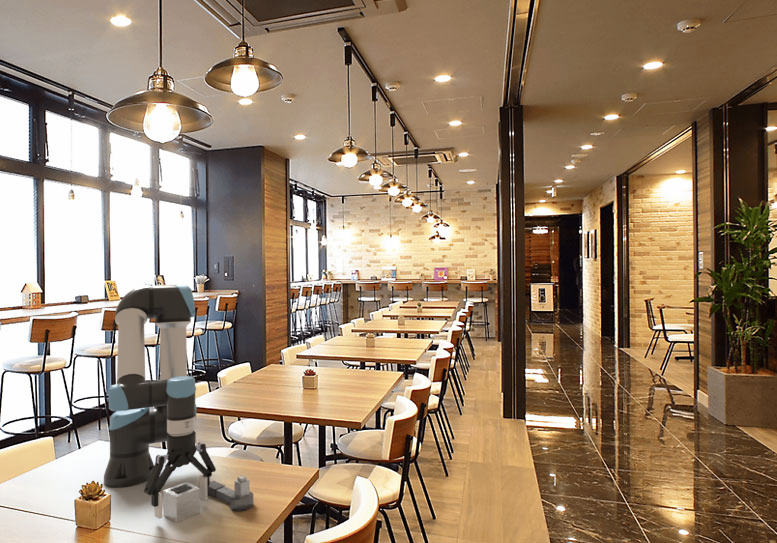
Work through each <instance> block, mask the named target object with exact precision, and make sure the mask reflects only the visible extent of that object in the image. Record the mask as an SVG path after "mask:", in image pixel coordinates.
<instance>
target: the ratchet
mask: <svg viewBox="0 0 777 543" xmlns="http://www.w3.org/2000/svg"><path fill="white" fill-rule="evenodd" d="M207 496H210V497H212V498H214V499H218V500H220V501H221V502H224V503H225V504H229V505H230V510H231V511H234V512H246V511H248V510H251V509H252V508H253V507H254V492H252V491H250V479H248V478H247V476H246V475H239V476H238V477H237V479H236V480H234V490H233V489H232V488H229V487H227V486H226V485H225V484H222V483H221V482H218V481H216V480H212V481H210V485H209V486H208V487H207Z"/></svg>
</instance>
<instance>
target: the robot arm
mask: <svg viewBox="0 0 777 543" xmlns="http://www.w3.org/2000/svg"><path fill="white" fill-rule="evenodd" d="M195 306H196V305H195V299H194V295H193V291H192V288H191V287H190V286H189V285H184V284H183V285H182V284H169V285H164V284H163V285H162V284H161V285H141V286H137V287H135V288H133V289H132V290H130V291H128V292H127V293H126V294H125V295H124V296H123V297H122V298H121V300H120V301H119V302H118V304H117V306H116V308H115V314H114V321H115V324H116V325H117V326H118V327H117V330H118V331H117V364H116V365H117V366H116V371H117V372H116V383H115V384H111V385H110V386H109V387H108V409H109V410H110V411H112V412H113V413H112V414H111V416H110V418H109V427H108V430H109V458H108V459H109V460H108V462H107V466H106V468H105V471H104V475H103V484H104V485H105V486H108V487H112V488H122V487H129V486H130V487H131V486H135V485H138V484H142V483H144V482H146V481H147V482H146V484H145V487H144V490H143V493H145V494H146V495H148V496H150V497H151V502H150V503H151V504H150V505H151V506H152V507H154V514H153V515H154V517H155V518H157V519H158V520H160V519H163V493H161V491H162V489H163V487H164V486H165V485H166V483H167V481H168V480H169V478H170V477H171V475H172V473H173V472H174V471H176V469H177V468H178V469H179V468H181V467H183V466H188V465H189V464H192V465H193V466H194V467H195V469H197V470H198V471H199V472H200V473H201V474H202V475H199V488H200V500H203V501H207V500H208V494H207V487H208V486H209V485H210V482H211V480H210V479H211V478H210V477H212V475H213V473H215V472H216V470H217V468H216V466H215V465H214V462H213V460H212V459H211V456H210V454H208V453H209V452H208V451H207V445H206V443H202V442H200V441H199V442H198V443H197V441H196V440H197V439H196V438H197V437H196V436H197V433H196V431H195V430H196V429H197V428H196V424H197V423H196V422H197V404H196V391H197V387H196V379H195V377H193V376H190V375H188V364H187V363H188V358H187V357H188V356H187V355H188V354H187V352H188V351H187V350H188V349H187V345H188V344H187V327H188V325H190V323H191V322H192V319H191V318H193V317H194V318H195V316H196V307H195ZM148 319H149V320H153V319H154V324H155V326H157V327H158V328H159V339H160V340H159V348H160V349H159V350H160V351H159V352H160V353H159V357H160V358H159V360H160V362H159V365H160V367H159V368H160V369H159V370H160V373H159V374H160V380H152V381H146V355H145V353H146V351H145V349H146V348H145V324H146V323H147V321H148ZM163 442H166V448H167V453H166V454H164V455H161V454H157V455H156V456H155V462H154V461H153V459H152V456H151V454H150V444H157V443H163ZM196 452H198V454H199V455H200V458H201V460H202V461H203V463H204V465H203V464H202V463H201V462H200V461H199V459H198V458H197V457H196V456H195V454H196ZM163 468H164V469H163Z"/></svg>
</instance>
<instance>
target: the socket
mask: <svg viewBox="0 0 777 543" xmlns="http://www.w3.org/2000/svg"><path fill="white" fill-rule="evenodd" d="M162 510H163V516H164V517H166V518H167V519H169V520H171V521H174V523H179V522H182V521H183V520H186V519H189V518H191V517H194V516H196V515H198V514H201V498H200V486H197V485H194V484H192V483H190V482H188V481H185V482H182V483H180V484H177V485H174V486H171V487H168V488H166V489H163V493H162Z"/></svg>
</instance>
